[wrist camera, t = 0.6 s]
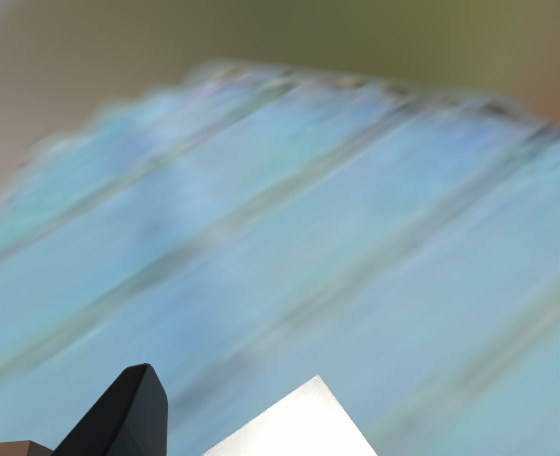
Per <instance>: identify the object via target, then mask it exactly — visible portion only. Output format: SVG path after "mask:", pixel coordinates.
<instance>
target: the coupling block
mask: <svg viewBox="0 0 560 456" xmlns="http://www.w3.org/2000/svg"><path fill="white" fill-rule="evenodd" d="M202 456H377V455H376V453H375V452H374V451H373V449H372V448H371V447H370V445H369V444H368V442H367V441H366V440H365V438H364V437H363V436H362V434H361V433H360V431H359V430H358V429H357V427H356V426H355V425H354V423H353V422H352V420H351V419H350V418H349V416H348V415H347V414H346V412H345V411H344V409H343V408H342V407H341V405H340V404H339V403H338V401H337V400H336V398H335V397H334V396H333V394H332V393H331V392H330V390H329V389H328V387H327V386H326V385H325V383H324V382H323V381H322V379H321V378H320V377H319V375H318V374H317V375H316V376H314V377H313V378H312V379H310V380H309V381H307V382H306V383H304V384H303V385H302V386H300V387H299V388H297V389H296V390H294V391H293V392H292V393H290V394H289V395H287V396H286V397H284V398H283V399H282V400H280V401H279V402H277V403H276V404H274V405H273V406H272V407H270V408H269V409H267V410H266V411H264V412H263V413H262V414H260V415H259V416H257V417H256V418H254V419H253V420H252V421H250V422H249V423H247V424H246V425H244V426H243V427H242V428H240V429H239V430H237V431H236V432H234V433H233V434H232V435H230V436H229V437H227V438H226V439H224V440H223V441H222V442H220V443H219V444H217V445H216V446H214V447H213V448H212V449H210V450H209V451H207V452H206V453H204V454H203V455H202Z"/></svg>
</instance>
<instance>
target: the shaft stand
mask: <svg viewBox="0 0 560 456" xmlns="http://www.w3.org/2000/svg"><path fill="white" fill-rule="evenodd" d="M52 453H53V450H51V449H48V448H46V447H44V446H42V445H39V444H37V443H35V442H33V441H31V440H28V441H16V442H4V443H0V456H50V455H51V454H52Z"/></svg>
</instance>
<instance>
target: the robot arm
mask: <svg viewBox="0 0 560 456" xmlns="http://www.w3.org/2000/svg"><path fill="white" fill-rule="evenodd" d="M167 422H168V400H167V396H166V393H165V390H164V388H163V386H162V384H161V382H160V380H159V378H158V376H157V374H156V372H155V370H154V368H153V367H152V366H151V365H150V364H148V363H143V364H139V365H134V366H130V367H127V368H126V369H125V370H124V371H123V372H122V373H121V374H120V375H119V376H118V377H117V379H116V380H115V381H114V382H113V383H112V384H111V385H110V387H109V388H108V389H107V390H106V391H105V392H104V394H103V395H102V396H101V397H100V398H99V399H98V400H97V402H96V403H95V404H94V405H93V406H92V407H91V409H90V410H89V411H88V412H87V413H86V414H85V416H84V417H83V418H82V419H81V420H80V421H79V422H78V424H77V425H76V426H75V427H74V428H73V429H72V431H71V432H70V433H69V434H68V435H67V436H66V437H65V439H64V440H63V441H62V442H61V443H60V444H59V446H58V447H57V448H56V449H55V450H54V451H53V453H52V454H51V455H50V456H166V454H167Z"/></svg>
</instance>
